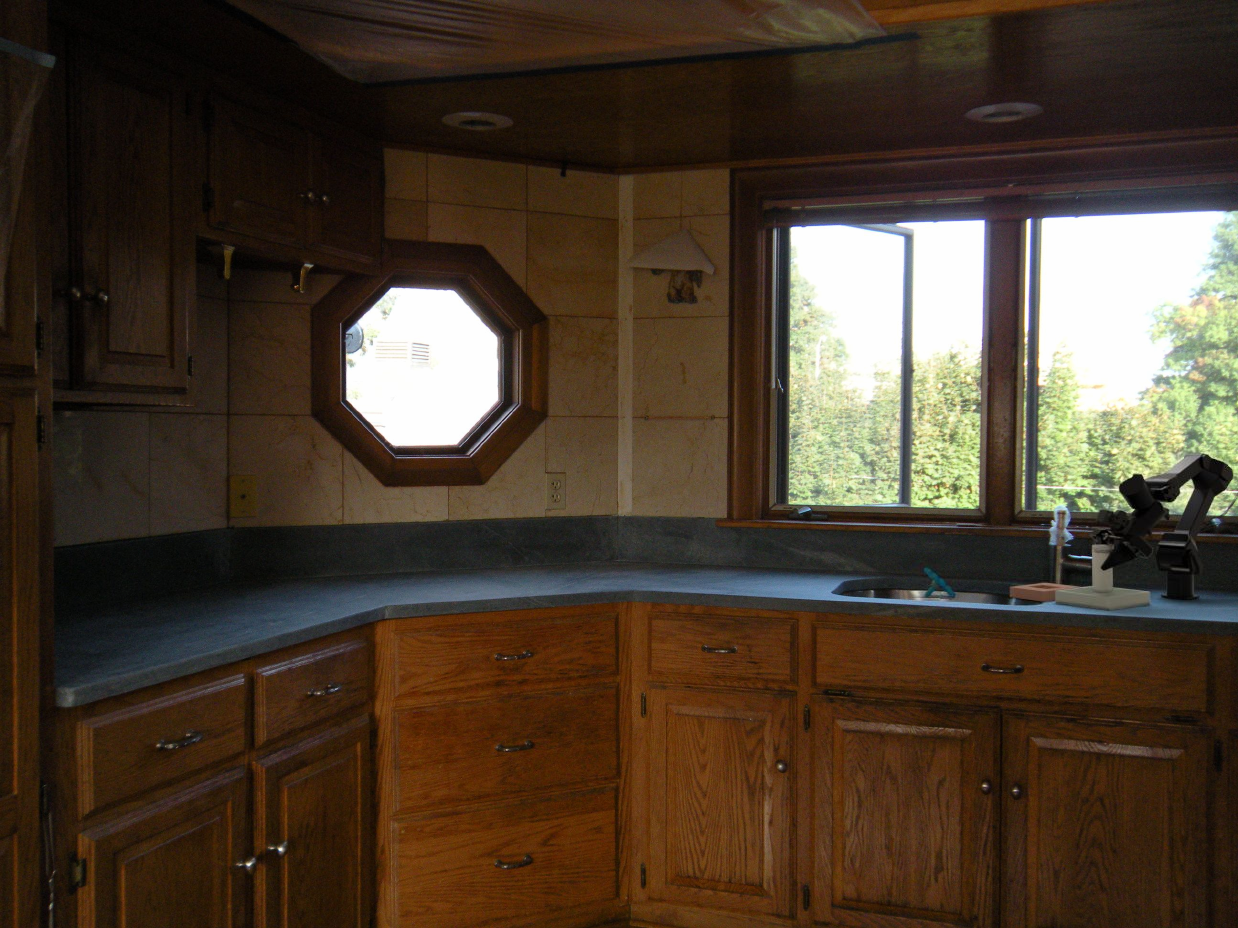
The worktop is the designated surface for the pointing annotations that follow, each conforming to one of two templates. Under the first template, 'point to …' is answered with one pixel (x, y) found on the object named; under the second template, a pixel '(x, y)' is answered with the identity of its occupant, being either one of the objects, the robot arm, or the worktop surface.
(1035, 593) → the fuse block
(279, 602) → the worktop surface
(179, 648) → the worktop surface
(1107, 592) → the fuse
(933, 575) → the teal branched piece
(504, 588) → the worktop surface
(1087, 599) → the tray
